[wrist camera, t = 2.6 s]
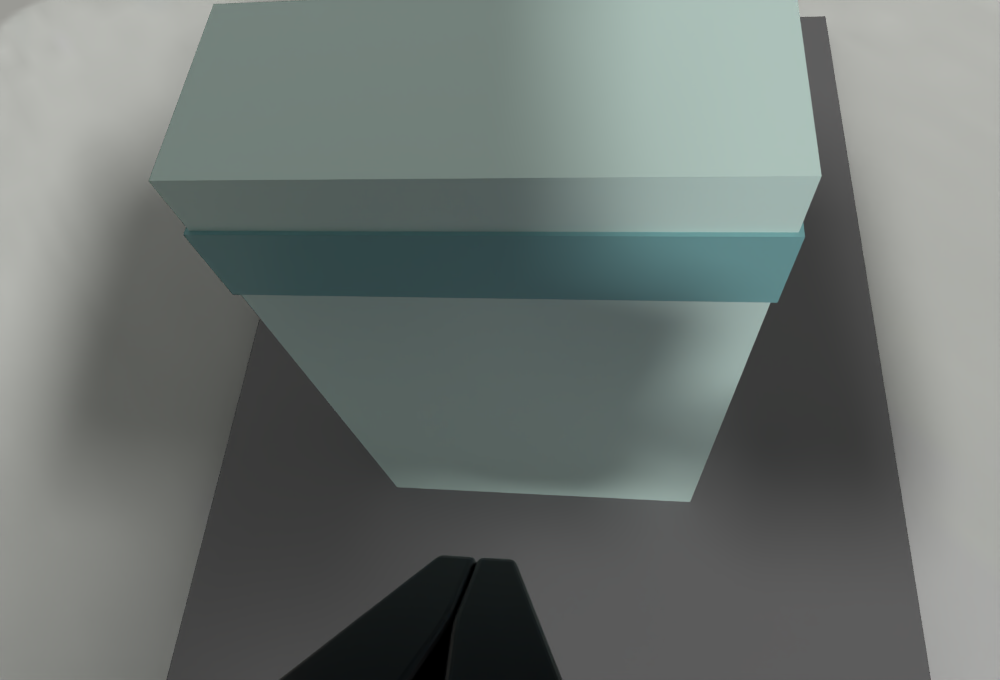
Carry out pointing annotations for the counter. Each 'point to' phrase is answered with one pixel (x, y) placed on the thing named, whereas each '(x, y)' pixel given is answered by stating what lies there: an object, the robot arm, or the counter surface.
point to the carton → (505, 220)
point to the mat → (604, 509)
